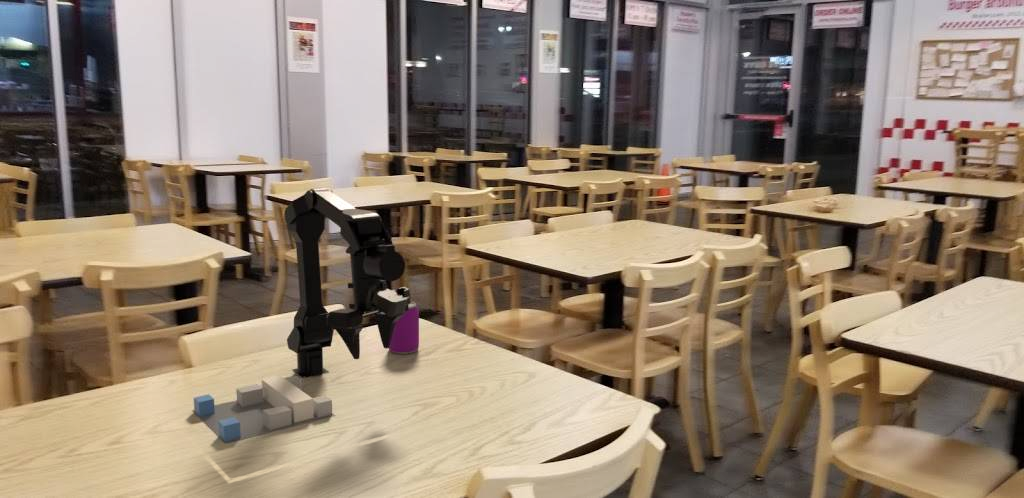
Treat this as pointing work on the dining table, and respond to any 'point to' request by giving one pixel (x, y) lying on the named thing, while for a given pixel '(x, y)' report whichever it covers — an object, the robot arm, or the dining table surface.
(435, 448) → the dining table surface
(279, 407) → the miniature block city
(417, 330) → the beverage can
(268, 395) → the long white plank
